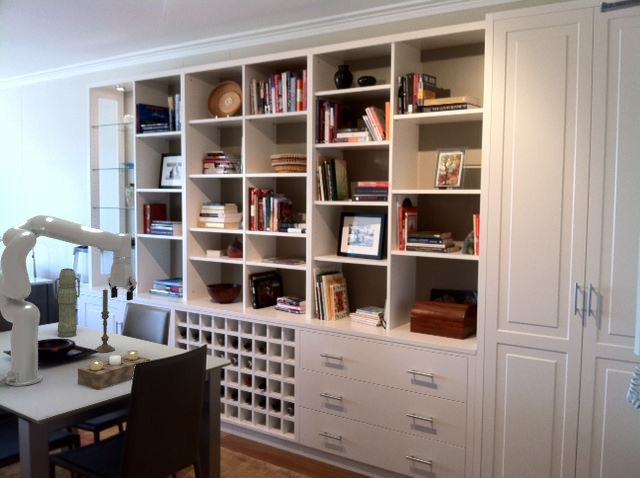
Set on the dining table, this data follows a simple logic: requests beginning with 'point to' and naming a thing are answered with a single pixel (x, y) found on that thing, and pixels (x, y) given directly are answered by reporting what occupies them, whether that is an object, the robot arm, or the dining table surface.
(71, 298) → the thermos
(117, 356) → the middle white knob
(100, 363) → the near brass knob
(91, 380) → the wooden block
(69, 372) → the dining table surface
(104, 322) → the candlestick holder
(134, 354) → the far brass knob
